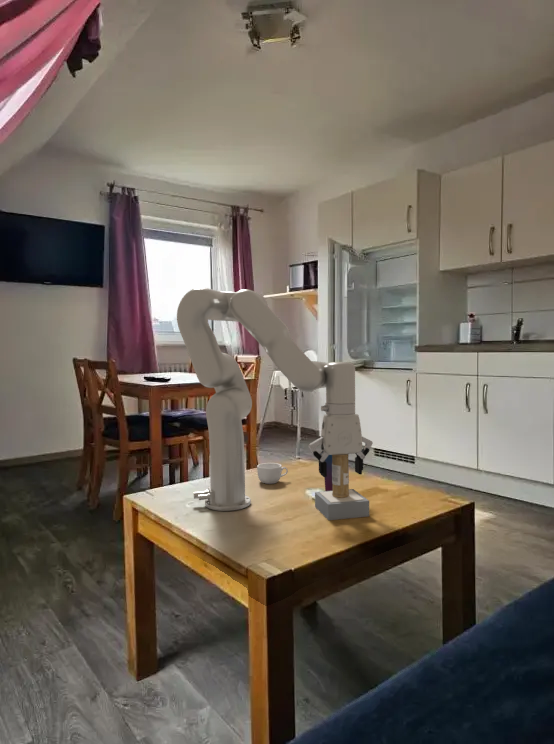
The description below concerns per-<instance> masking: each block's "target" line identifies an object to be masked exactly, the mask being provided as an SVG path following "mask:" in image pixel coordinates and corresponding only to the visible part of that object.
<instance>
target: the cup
mask: <svg viewBox="0 0 554 744" xmlns="http://www.w3.org/2000/svg"><path fill="white" fill-rule="evenodd" d="M325 462H326V463H327V477H323V478H324V489H325V490H324V491H333V484H332V455H328V457H327V458H326V459H325Z"/></svg>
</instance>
